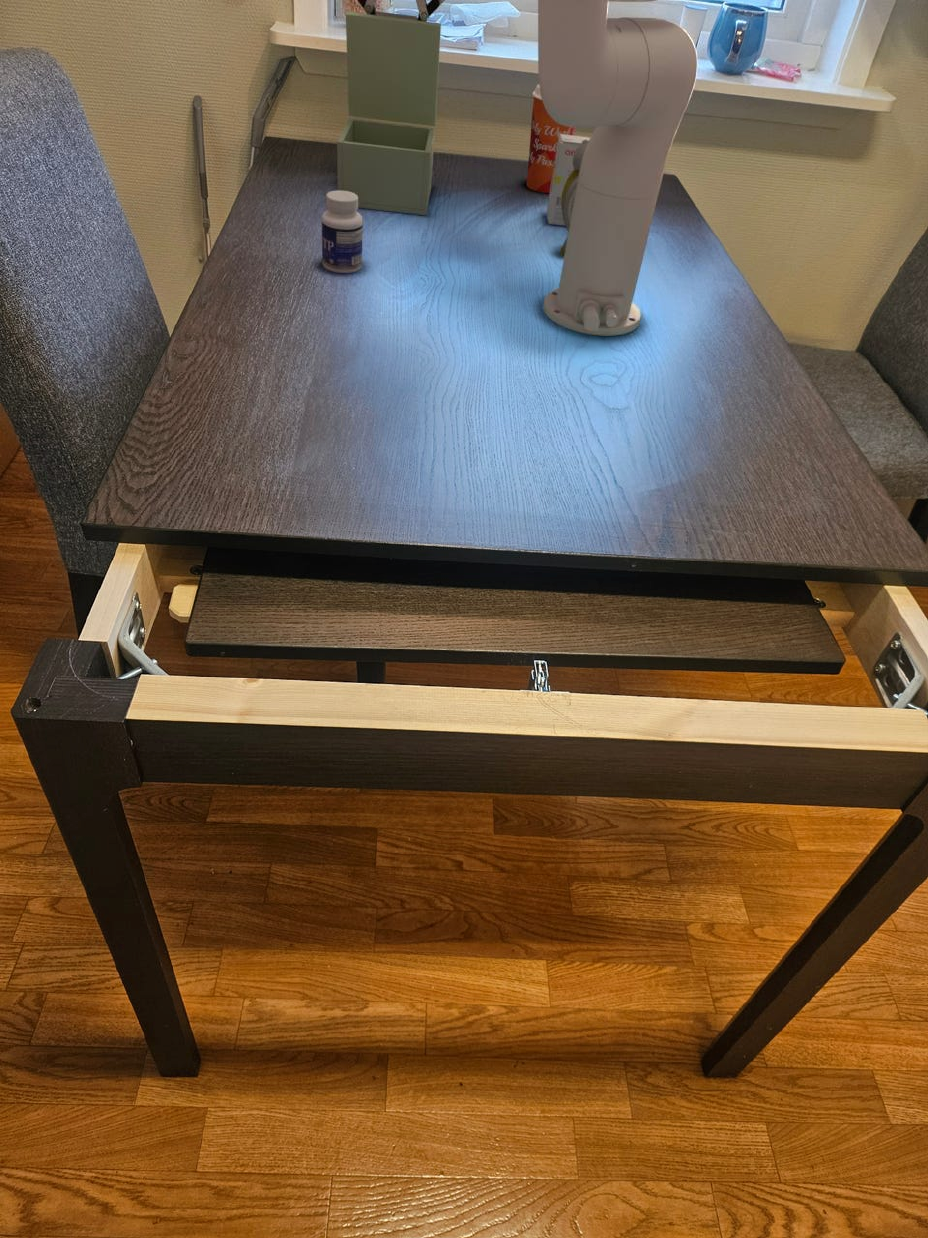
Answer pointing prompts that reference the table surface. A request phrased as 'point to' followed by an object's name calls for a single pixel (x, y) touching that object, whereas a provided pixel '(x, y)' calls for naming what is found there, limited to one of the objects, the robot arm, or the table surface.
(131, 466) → the table surface
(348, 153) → the bin
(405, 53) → the bin lid
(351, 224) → the pill bottle
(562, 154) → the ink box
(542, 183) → the coffee cup
